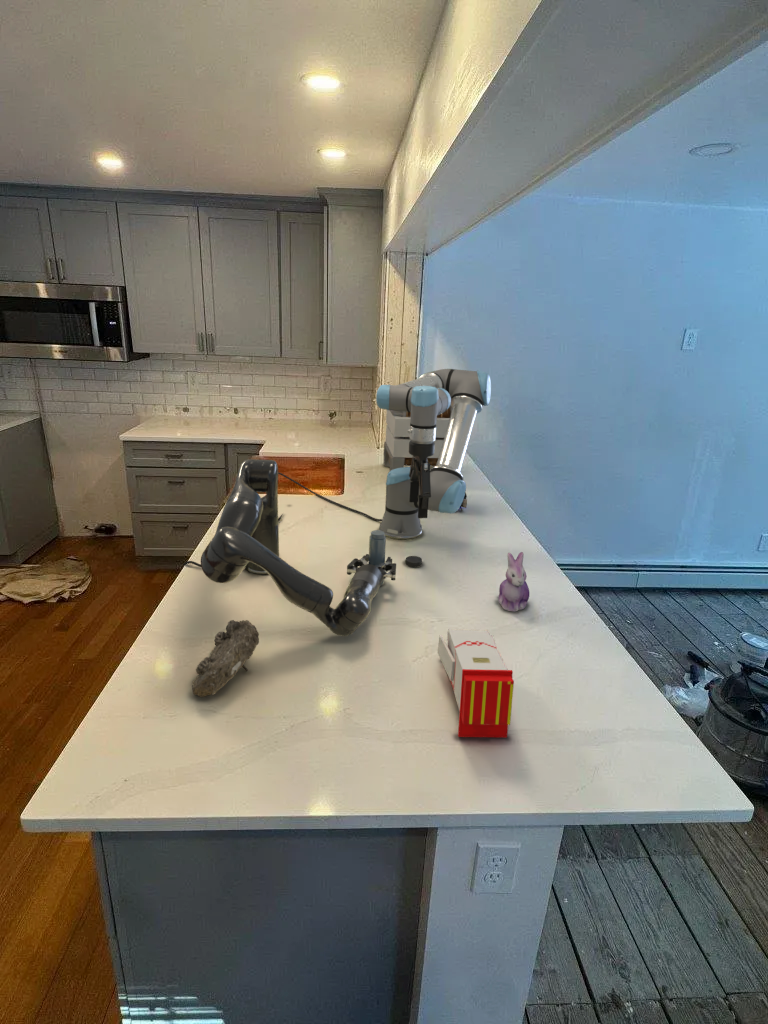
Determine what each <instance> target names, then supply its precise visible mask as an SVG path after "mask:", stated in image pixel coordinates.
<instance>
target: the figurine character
mask: <svg viewBox="0 0 768 1024" xmlns="http://www.w3.org/2000/svg"><path fill="white" fill-rule="evenodd" d="M467 495H468V494H467V493H466V491H465V496H464V499H463V502H462V504H461V506H460V508H459V510H460V512H463V509H464V508H465V509H466V508H467V506H468V499H467V497H468V496H467Z"/></svg>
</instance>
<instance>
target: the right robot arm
mask: <svg viewBox="0 0 768 1024" xmlns="http://www.w3.org/2000/svg"><path fill="white" fill-rule="evenodd" d="M491 393H492V383H491V376H490V374H489V373H488V372H486V371H479V370H469V369H468V370H466V369H456V368H441V369H435V370H432V371H428V372H426V373H423V374H422V375H420V376H419V378H416V379H412V380H408V381H406V382H403V383H400V384H399V383H398V384H395V385H393V384H381V385H379V387H378V388H377V391H376V393H375V394H376V396H375V401H376V405H377V407H378V408H379V409H381V410H385V411H387V410H394V411H404V412H411V418H410V430H408V433H410V440H411V441H410V442H409V454H411V455H412V462H411V466H406V467H405V466H404V467H403V468H397V469H393V470H391V471H390V470H389V471H388V473H387V475H386V482H385V504H384V505H385V507H384V508H385V509H384V513H383V515H382V518H375V517H373V516H371V515H369V514H367V513H365V512H362V511H360V510H357V509H354V508H351V507H349V506H346V505H344V504H342V503H339V502H336V501H334V500H332V499H329V498H327V497H325V496H323V495H321V494H319V493H317V492H315V491H313V490H312V489H309V488H308V487H306V486H304V485H303V484H301V483H299V482H298V481H296V480H295V479H293V478H291V477H289V476H287V475H286V474H284V473H281V472H279V471H278V475H279V476H282V477H284V478H286V479H287V480H289V481H291V482H293V483H294V484H296V485H298V486H300V488H302V489H304V490H306V491H308V492H309V493H312V494H313V495H315V496H317V497H319V498H321V499H323V500H325V501H327V502H330V503H332V504H334V505H336V506H339V507H342V508H344V509H347V510H349V511H351V512H355V513H357V514H360V515H363V516H364V517H367V518H369V519H371V520H373V521H375V522H379V526H378V530H381V531H383V532H384V533H385V536H386V539H389V540H395V541H410V540H415V539H418V538H420V537H421V536H422V535H423V525H422V524H421V519H428V517H429V516H428V515H429V511H431V512H438V513H440V514H451V515H452V514H455V513H456V512H457V511H459V510H460V506H461V504H462V502H463V499H464V496H465V492H466V491H467V484H466V481H464V476H463V474H462V473H460V472H462V468H463V464H464V461H465V457H466V453H467V450H468V447H469V446H468V445H469V442H470V439H471V435H472V431H473V428H474V425H475V421H476V417H477V415H478V414H480V413H481V412H482V411H483V407H486V406H489V405H490V402H491ZM450 404H451V406H452V408H453V409H452V413H451V416H450V419H449V423H448V426H447V430H446V433H445V437H444V440H443V444H442V447H441V451H440V454H439V458H438V461H437V465H436V466H432V467H431V465H430V463H429V462H427V457H429V456H432V455H434V451H435V443H434V441H435V439H436V421H437V415H439V414H442V413H444V412H445V411H446V410H447V409H448V408H449V407H450Z"/></svg>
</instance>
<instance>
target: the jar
mask: <svg viewBox="0 0 768 1024" xmlns="http://www.w3.org/2000/svg"><path fill="white" fill-rule="evenodd" d="M368 539H369V540H368V554H369V561H368V564H371V565H379V564H380V563H385V562H386V547H387V546H386V545H387V537H386V536H385V533H384V532H383V531H381V530H379V529H374V530H371V532H370V535H369V538H368ZM384 584H385V579H383V580H382V583H381V585H380V587H382V586H384Z"/></svg>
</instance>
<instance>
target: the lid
mask: <svg viewBox="0 0 768 1024" xmlns="http://www.w3.org/2000/svg"><path fill="white" fill-rule="evenodd" d="M404 564H405V565H406V566H407V567H410V568H419V567H421V566H423V558H422V557H420V556H418V555H409V556H406V557H405V559H404Z"/></svg>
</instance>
